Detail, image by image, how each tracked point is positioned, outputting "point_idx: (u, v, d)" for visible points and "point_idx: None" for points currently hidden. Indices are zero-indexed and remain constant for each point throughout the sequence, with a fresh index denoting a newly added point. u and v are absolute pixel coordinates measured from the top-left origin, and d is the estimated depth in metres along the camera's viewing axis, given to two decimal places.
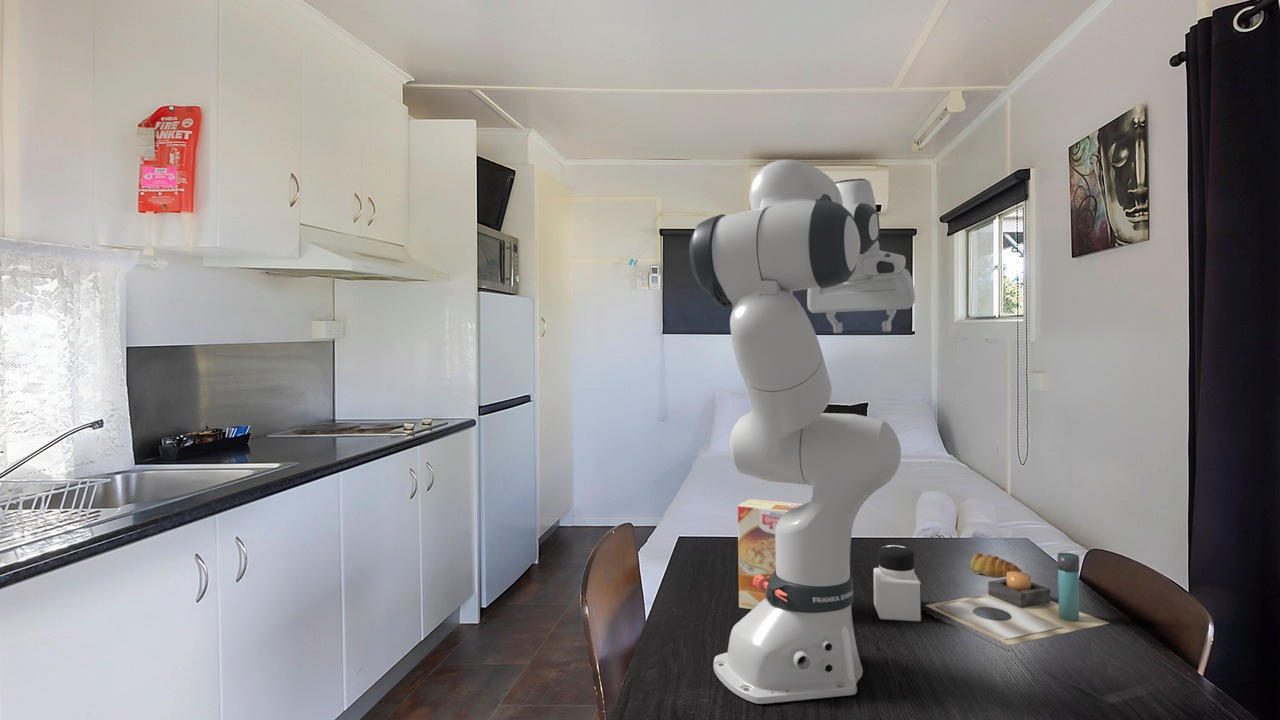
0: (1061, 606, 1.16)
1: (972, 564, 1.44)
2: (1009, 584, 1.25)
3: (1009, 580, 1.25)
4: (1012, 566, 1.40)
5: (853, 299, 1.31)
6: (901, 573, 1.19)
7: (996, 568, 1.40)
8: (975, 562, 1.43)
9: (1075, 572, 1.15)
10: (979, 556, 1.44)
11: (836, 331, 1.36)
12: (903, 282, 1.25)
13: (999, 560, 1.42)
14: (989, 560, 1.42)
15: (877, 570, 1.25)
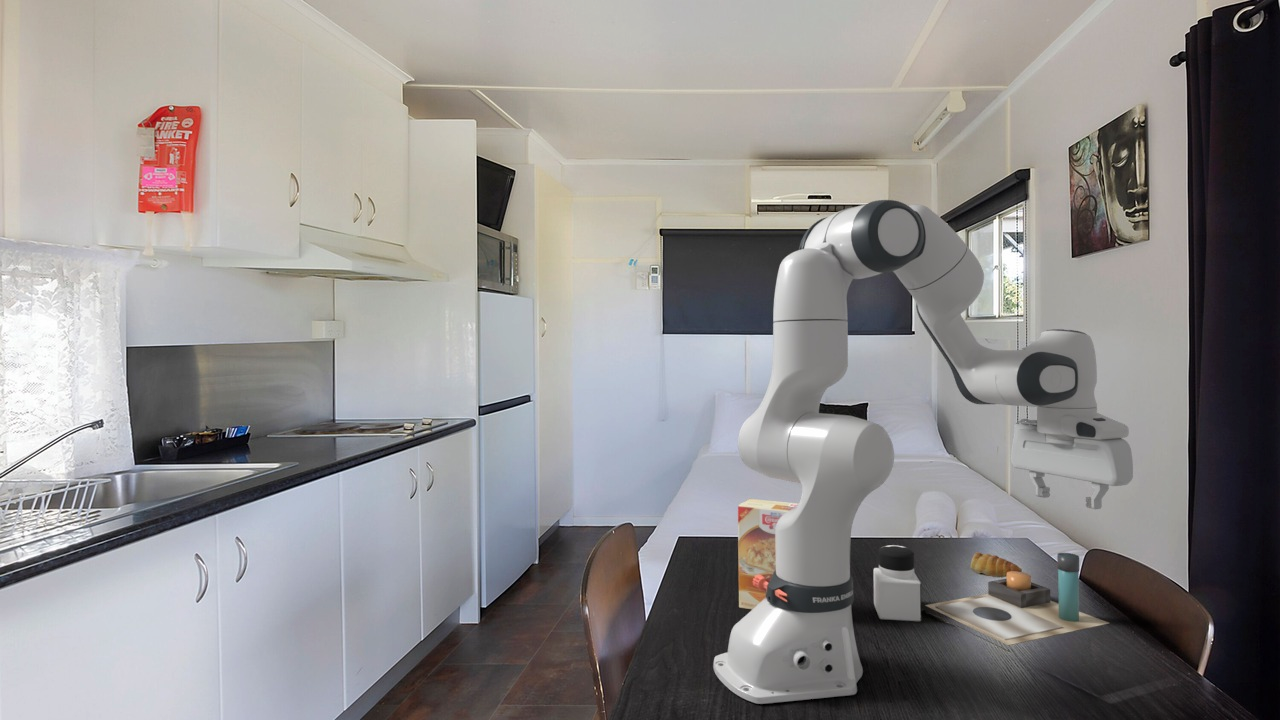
0: (1061, 606, 1.16)
1: (972, 564, 1.44)
2: (1009, 584, 1.25)
3: (1009, 580, 1.25)
4: (1012, 565, 1.41)
5: (1055, 461, 1.16)
6: (901, 573, 1.19)
7: (996, 567, 1.41)
8: (975, 561, 1.44)
9: (1075, 572, 1.15)
10: (979, 555, 1.45)
11: (1038, 495, 1.21)
12: (1106, 452, 1.07)
13: (999, 559, 1.42)
14: (989, 559, 1.43)
15: (877, 570, 1.25)
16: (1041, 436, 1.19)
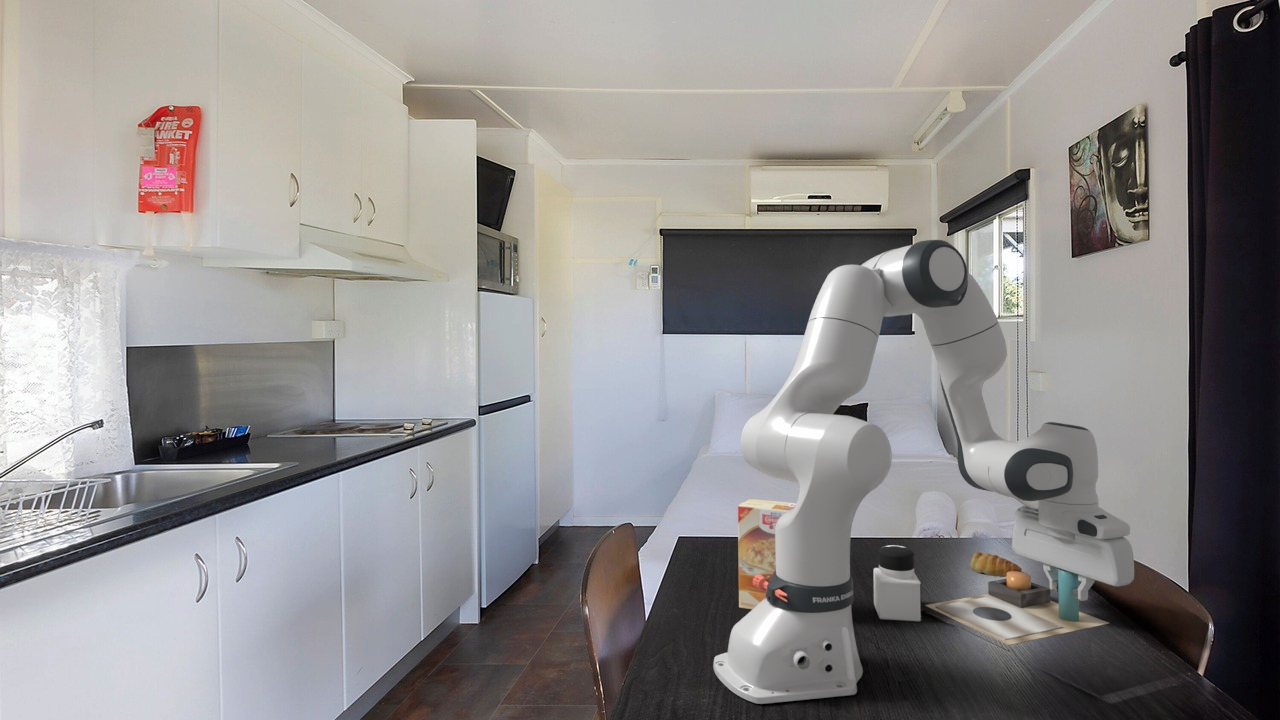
0: (1061, 606, 1.16)
1: (973, 563, 1.44)
2: (1009, 584, 1.25)
3: (1009, 580, 1.25)
4: (1012, 565, 1.41)
5: (1056, 554, 1.16)
6: (901, 573, 1.19)
7: (996, 567, 1.41)
8: (976, 561, 1.44)
9: None
10: (979, 555, 1.45)
11: (1052, 588, 1.18)
12: (1108, 552, 1.07)
13: (999, 559, 1.43)
14: (989, 558, 1.43)
15: (877, 570, 1.25)
16: (1042, 527, 1.19)
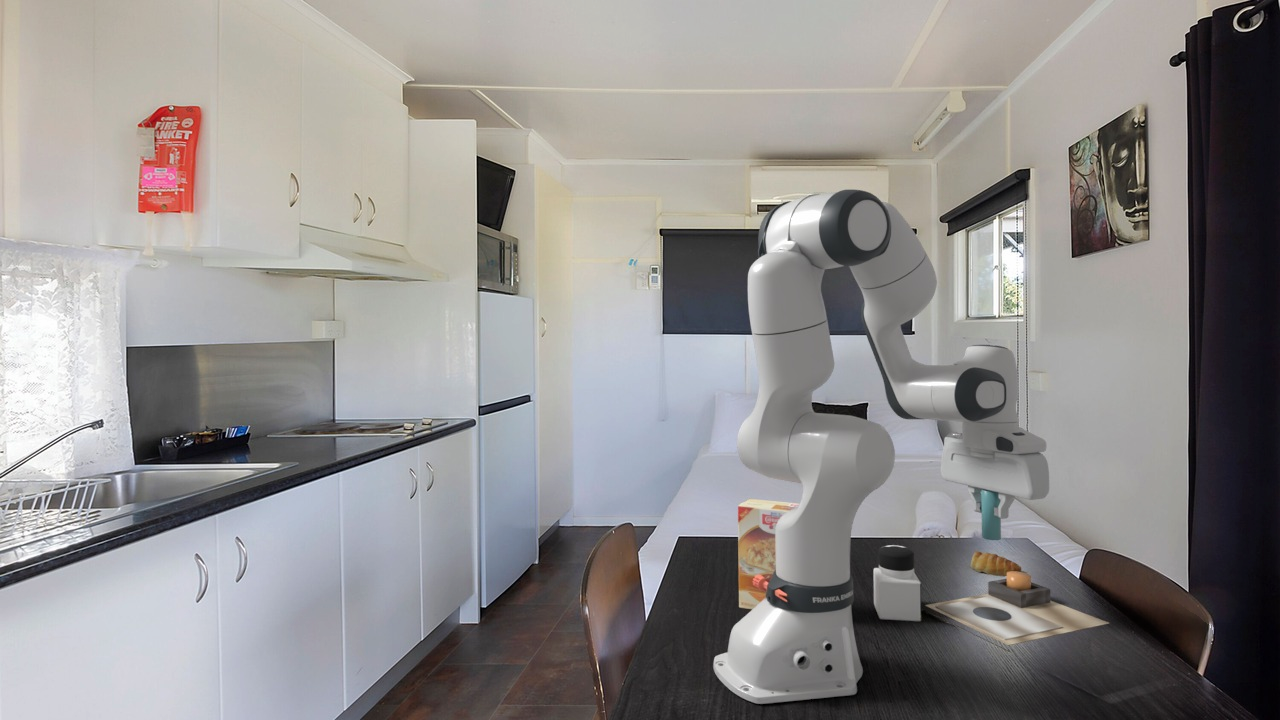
0: (983, 526, 1.18)
1: (973, 562, 1.45)
2: (1009, 584, 1.25)
3: (1009, 580, 1.25)
4: (1012, 563, 1.42)
5: (979, 474, 1.18)
6: (901, 573, 1.19)
7: (997, 566, 1.42)
8: (976, 560, 1.44)
9: None
10: (979, 554, 1.46)
11: (976, 510, 1.20)
12: (1023, 466, 1.09)
13: (999, 558, 1.43)
14: (989, 558, 1.44)
15: (877, 570, 1.25)
16: (967, 449, 1.21)
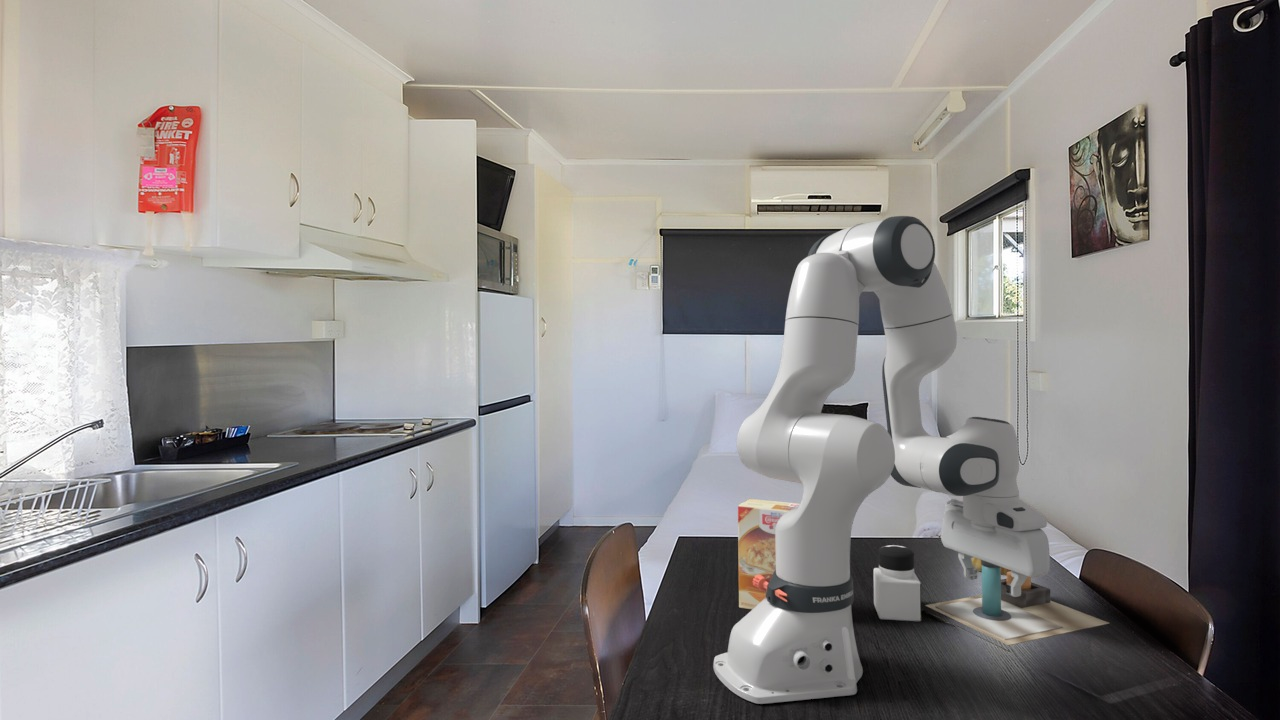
0: (984, 601, 1.18)
1: (973, 562, 1.45)
2: None
3: (1009, 580, 1.25)
4: None
5: (979, 546, 1.18)
6: (901, 573, 1.19)
7: None
8: (976, 560, 1.45)
9: (997, 567, 1.17)
10: None
11: (966, 576, 1.22)
12: (1023, 543, 1.09)
13: None
14: None
15: (877, 570, 1.25)
16: (967, 519, 1.21)
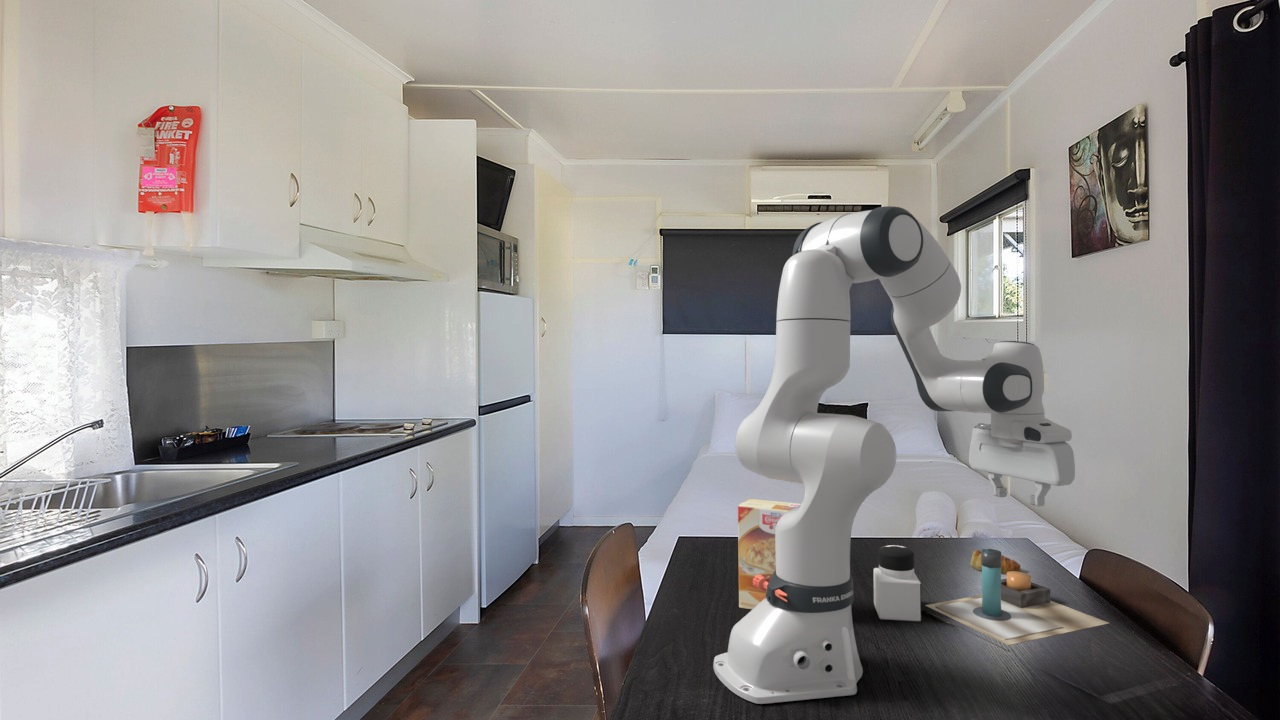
0: (984, 601, 1.18)
1: (973, 561, 1.46)
2: (1009, 584, 1.25)
3: (1009, 580, 1.25)
4: (1012, 561, 1.43)
5: (1007, 463, 1.26)
6: (901, 573, 1.19)
7: None
8: (976, 559, 1.45)
9: (997, 567, 1.17)
10: (978, 553, 1.47)
11: (996, 494, 1.29)
12: (1050, 454, 1.16)
13: None
14: None
15: (877, 570, 1.25)
16: (995, 439, 1.28)
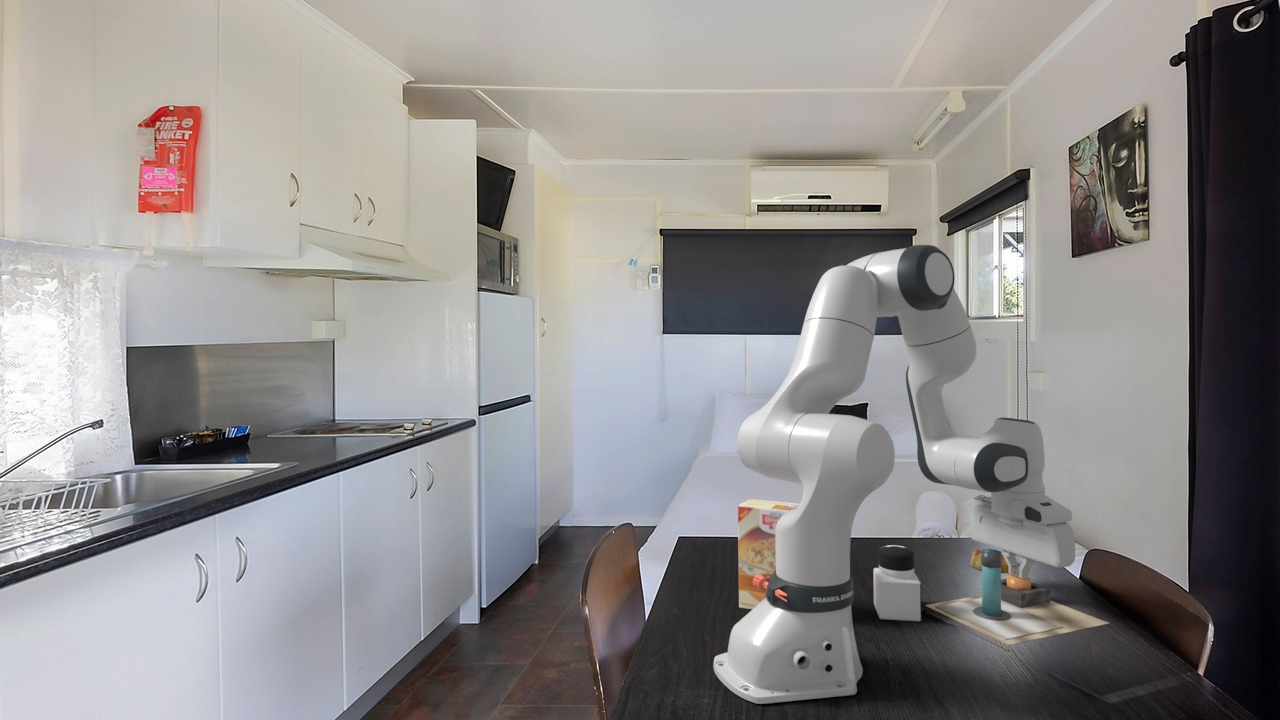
0: (984, 601, 1.18)
1: (973, 560, 1.46)
2: None
3: (1009, 582, 1.25)
4: None
5: (1007, 539, 1.26)
6: (901, 573, 1.19)
7: None
8: (976, 558, 1.46)
9: (997, 567, 1.17)
10: (978, 552, 1.47)
11: (1011, 573, 1.26)
12: (1050, 536, 1.17)
13: None
14: None
15: (877, 570, 1.25)
16: (995, 514, 1.28)
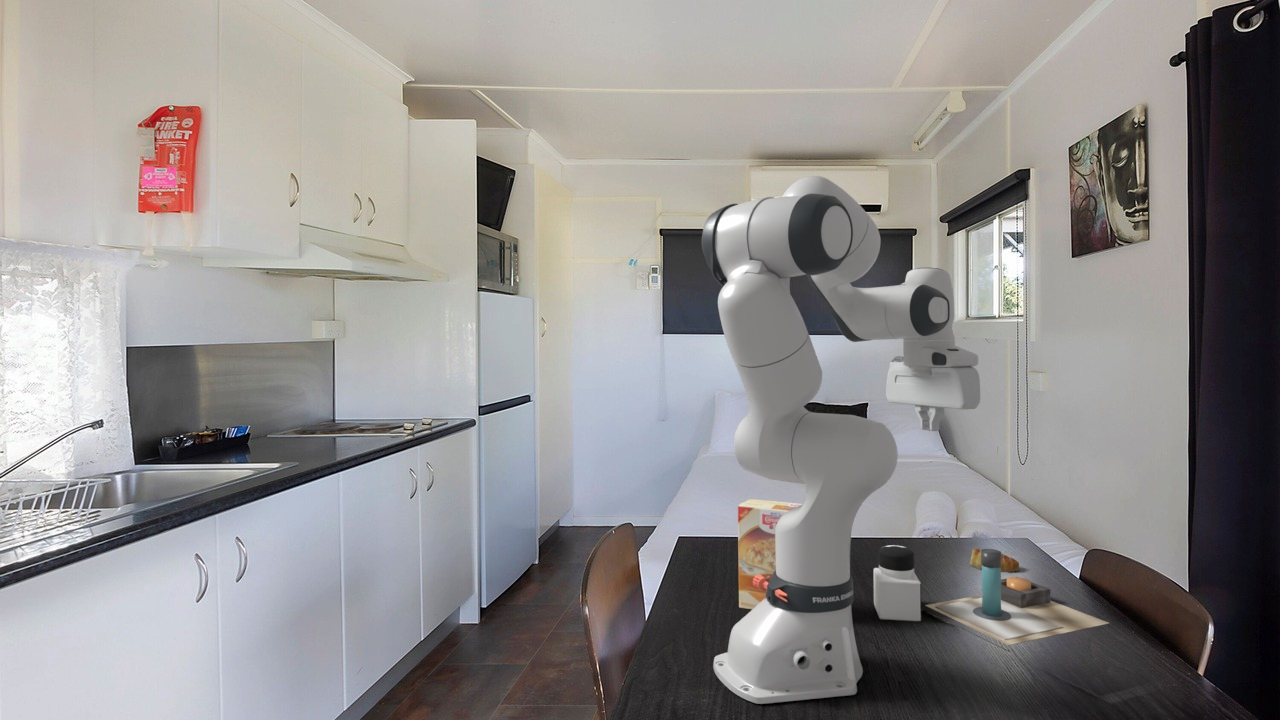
0: (984, 601, 1.18)
1: (973, 559, 1.47)
2: None
3: (1009, 586, 1.25)
4: (1010, 559, 1.45)
5: (918, 392, 1.25)
6: (901, 573, 1.19)
7: None
8: (976, 557, 1.47)
9: (997, 567, 1.17)
10: (978, 551, 1.48)
11: (922, 428, 1.25)
12: (955, 377, 1.16)
13: None
14: None
15: (877, 570, 1.25)
16: (908, 370, 1.27)
